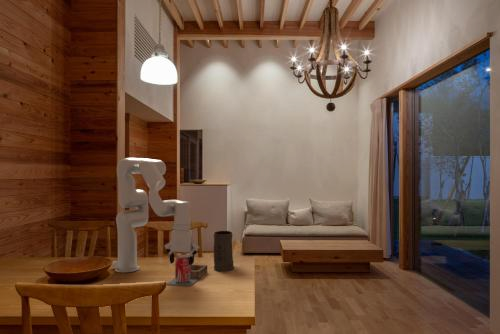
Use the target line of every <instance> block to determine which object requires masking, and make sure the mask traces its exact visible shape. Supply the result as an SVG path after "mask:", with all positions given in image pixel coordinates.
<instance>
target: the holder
mask: <svg viewBox="0 0 500 334" xmlns="http://www.w3.org/2000/svg"><path fill="white" fill-rule="evenodd" d="M207 274H208V265H207V264H194V263H193V264H192V265H190V279H198V281H199V280H201V279H202V278H203V277H204V276H206V275H207Z"/></svg>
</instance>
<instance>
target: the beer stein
mask: <svg viewBox="0 0 500 334" xmlns="http://www.w3.org/2000/svg"><path fill="white" fill-rule="evenodd" d="M233 256H234V255H233V232H232V231H230V230H218V231H215V232H214V233H213V264H214V266H213V269H214V271H217V272H223V273H224V272H230V271H232V270H233V269H234V268H235V267H234V258H233Z"/></svg>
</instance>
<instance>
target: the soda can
mask: <svg viewBox="0 0 500 334" xmlns="http://www.w3.org/2000/svg"><path fill="white" fill-rule="evenodd" d="M189 257H190V254H179V255H177V256H176V259H174V264H175V265H174V268H175V270H174V271H175V272H174V274H175V276H174V278H176V281H177V282H178V283H186V282H188V281H189V280H190V265H189Z"/></svg>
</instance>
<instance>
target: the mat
mask: <svg viewBox="0 0 500 334" xmlns="http://www.w3.org/2000/svg"><path fill="white" fill-rule="evenodd" d="M198 281H199V280H198V279H190V280H189V281H188V282H186V283H178V282H177V281H176V278H175V277H174V278H173V279H171V280H169V281H168V282H167V283H166V284H167V285H166V286H174V287H175V286H177V287H187V288H188V287H189V288H191V287H192V286H193V285H194V284H195V283H197V282H198Z"/></svg>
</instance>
